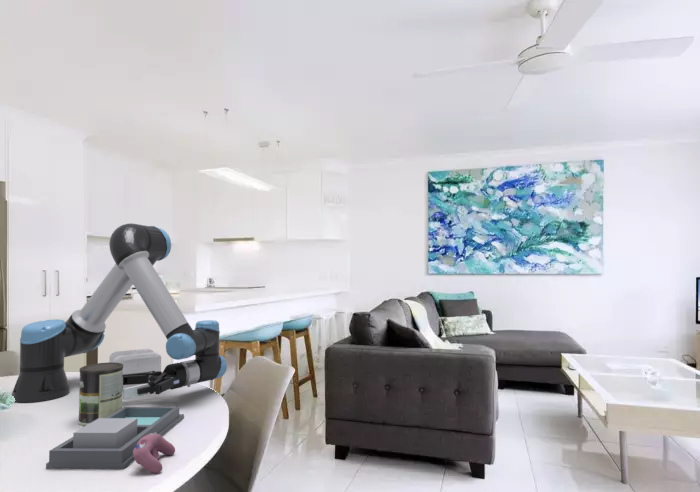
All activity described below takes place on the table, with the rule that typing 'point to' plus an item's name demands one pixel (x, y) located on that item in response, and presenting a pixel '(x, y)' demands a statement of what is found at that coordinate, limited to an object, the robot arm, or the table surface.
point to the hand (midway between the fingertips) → (111, 390)
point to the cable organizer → (137, 362)
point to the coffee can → (99, 391)
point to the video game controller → (152, 451)
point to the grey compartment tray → (112, 438)
